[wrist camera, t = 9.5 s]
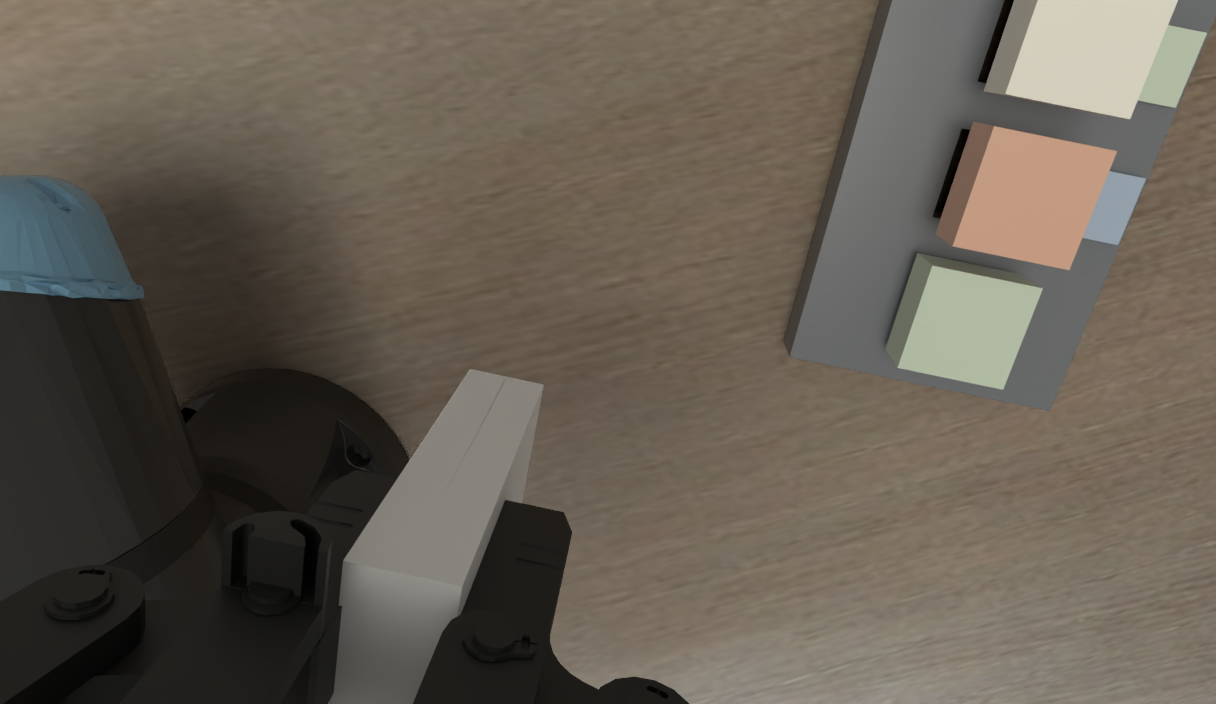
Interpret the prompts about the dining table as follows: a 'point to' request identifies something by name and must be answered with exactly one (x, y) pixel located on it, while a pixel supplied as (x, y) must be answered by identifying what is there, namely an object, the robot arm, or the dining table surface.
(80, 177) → the dining table surface
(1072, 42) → the key cream
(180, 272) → the dining table surface
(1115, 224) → the keypad
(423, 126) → the dining table surface
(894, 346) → the key sage
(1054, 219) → the key terracotta
